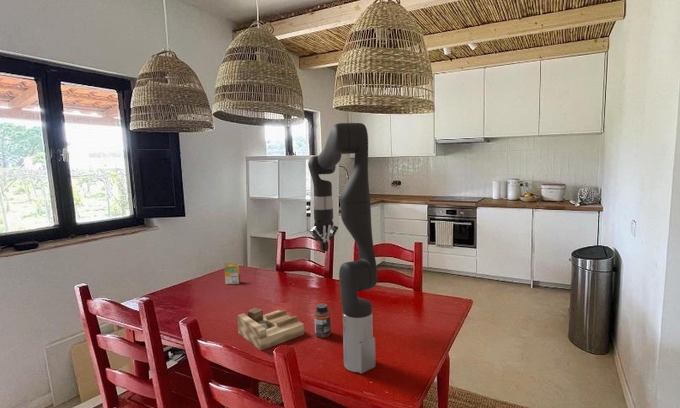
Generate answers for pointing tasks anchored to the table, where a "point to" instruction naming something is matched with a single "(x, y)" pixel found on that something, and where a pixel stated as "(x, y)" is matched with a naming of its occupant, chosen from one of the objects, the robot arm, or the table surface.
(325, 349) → the table surface
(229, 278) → the crayon box
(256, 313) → the walnut cube
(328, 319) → the supplement bottle
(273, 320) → the wooden stepped tray
